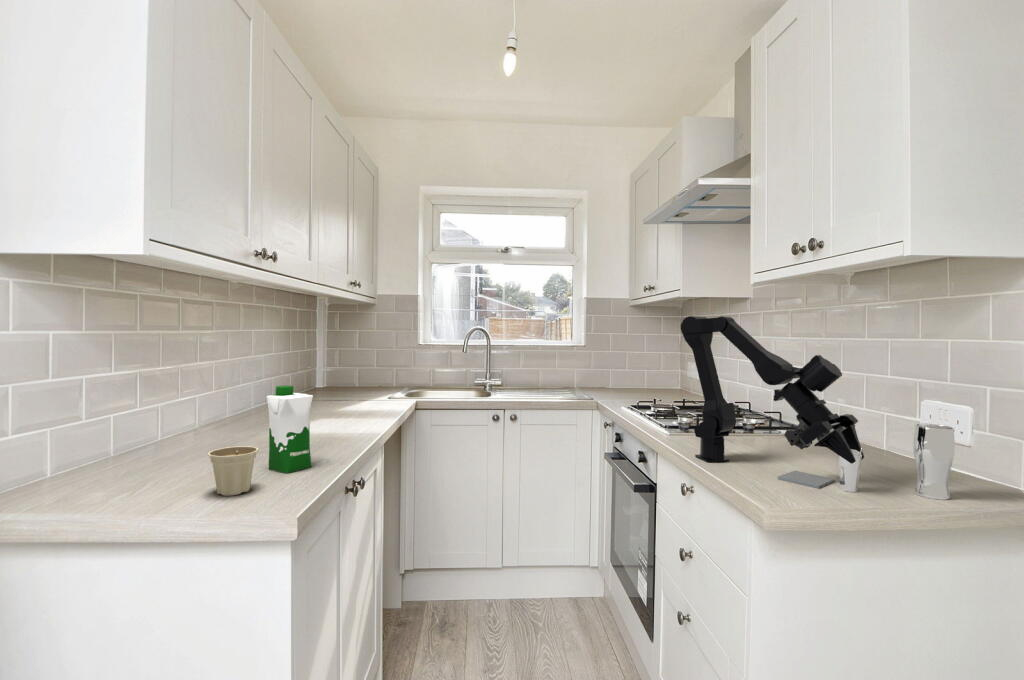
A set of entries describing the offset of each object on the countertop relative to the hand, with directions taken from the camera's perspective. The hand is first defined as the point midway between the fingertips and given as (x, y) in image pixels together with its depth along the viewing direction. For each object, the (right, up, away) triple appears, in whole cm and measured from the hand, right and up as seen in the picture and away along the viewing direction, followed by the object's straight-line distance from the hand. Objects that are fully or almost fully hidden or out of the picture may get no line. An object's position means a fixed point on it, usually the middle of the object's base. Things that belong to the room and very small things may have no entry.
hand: (858, 460), depth 117 cm
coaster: (-7, -7, +9) cm, 13 cm away
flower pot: (-135, -6, -4) cm, 135 cm away
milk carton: (-130, -5, +14) cm, 131 cm away
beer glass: (+15, -7, -2) cm, 17 cm away
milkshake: (-1, -7, +1) cm, 7 cm away
